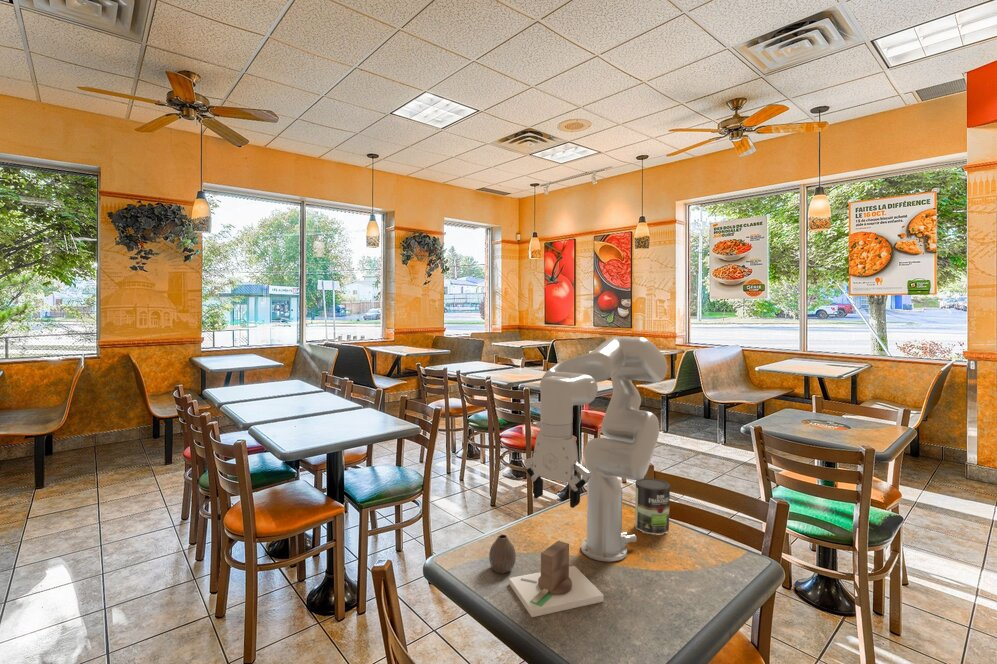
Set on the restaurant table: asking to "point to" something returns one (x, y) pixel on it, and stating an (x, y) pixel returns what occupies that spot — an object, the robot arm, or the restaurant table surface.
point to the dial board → (550, 603)
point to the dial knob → (554, 570)
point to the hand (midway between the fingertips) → (556, 501)
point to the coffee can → (652, 506)
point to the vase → (502, 555)
